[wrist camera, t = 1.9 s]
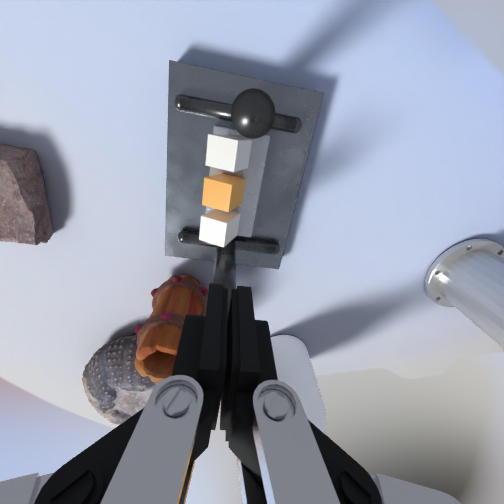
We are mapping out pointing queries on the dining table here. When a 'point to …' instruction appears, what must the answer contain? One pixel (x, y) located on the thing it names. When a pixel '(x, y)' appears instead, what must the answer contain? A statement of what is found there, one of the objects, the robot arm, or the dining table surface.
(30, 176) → the stone
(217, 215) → the white leaning block
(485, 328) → the robot arm
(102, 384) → the sea urchin shell
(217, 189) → the block
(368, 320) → the dining table surface
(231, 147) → the white tilted cube
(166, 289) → the mug
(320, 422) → the wine bottle
